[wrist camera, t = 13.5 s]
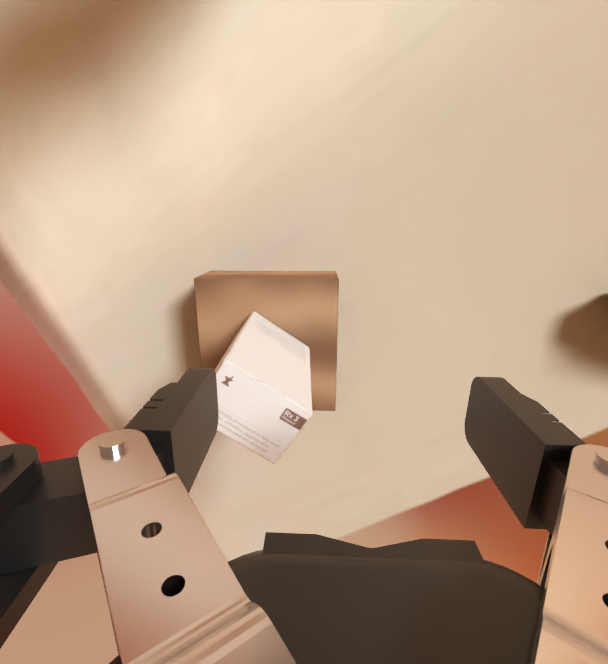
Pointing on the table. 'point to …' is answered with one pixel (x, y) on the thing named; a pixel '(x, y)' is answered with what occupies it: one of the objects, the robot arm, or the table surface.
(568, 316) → the table surface
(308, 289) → the walnut block
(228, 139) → the table surface
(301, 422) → the skincare box
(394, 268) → the table surface
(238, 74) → the table surface
